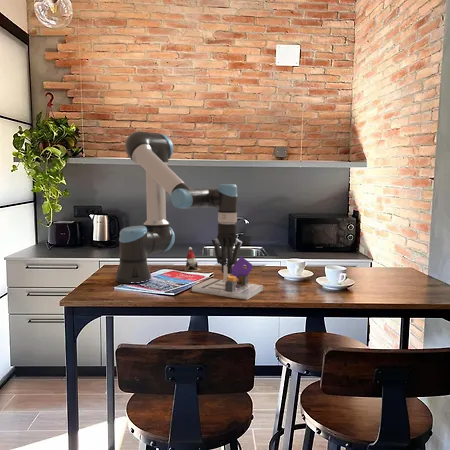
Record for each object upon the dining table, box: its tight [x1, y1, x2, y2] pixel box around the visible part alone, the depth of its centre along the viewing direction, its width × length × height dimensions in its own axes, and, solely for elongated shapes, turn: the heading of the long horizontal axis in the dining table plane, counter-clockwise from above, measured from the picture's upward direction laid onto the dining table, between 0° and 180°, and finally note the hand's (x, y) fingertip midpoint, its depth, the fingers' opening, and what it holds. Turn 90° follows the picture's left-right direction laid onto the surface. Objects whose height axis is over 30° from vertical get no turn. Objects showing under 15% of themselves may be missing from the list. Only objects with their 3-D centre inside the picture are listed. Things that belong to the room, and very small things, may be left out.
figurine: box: [184, 246, 202, 272], centre depth 211 cm, size 8×10×12 cm
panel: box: [191, 274, 264, 301], centre depth 172 cm, size 24×16×6 cm, turn 63°
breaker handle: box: [227, 275, 238, 285], centre depth 171 cm, size 3×3×4 cm
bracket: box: [230, 256, 253, 280], centre depth 184 cm, size 12×7×7 cm
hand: (226, 281), depth 172 cm, fingers closed
